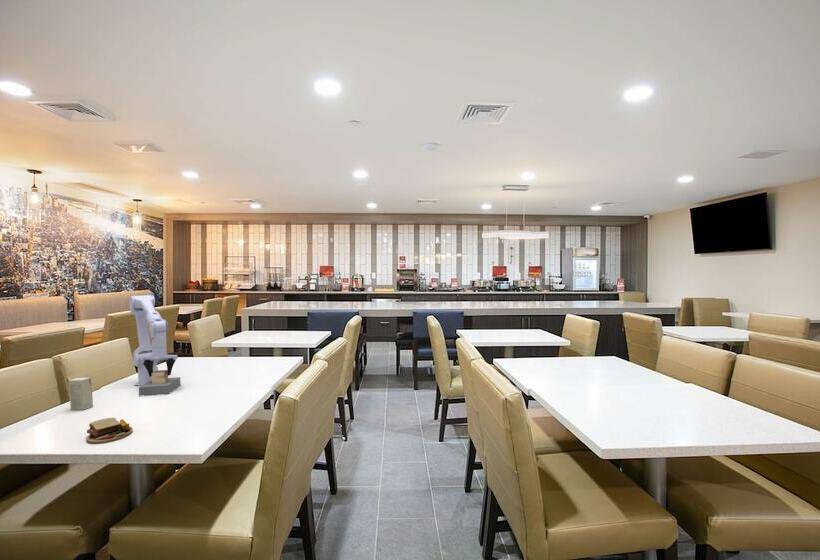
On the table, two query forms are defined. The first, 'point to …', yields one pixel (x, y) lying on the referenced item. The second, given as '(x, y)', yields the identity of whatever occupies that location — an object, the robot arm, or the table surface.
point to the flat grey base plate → (159, 387)
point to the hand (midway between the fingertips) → (160, 375)
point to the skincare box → (80, 393)
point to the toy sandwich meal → (107, 430)
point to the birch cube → (159, 376)
